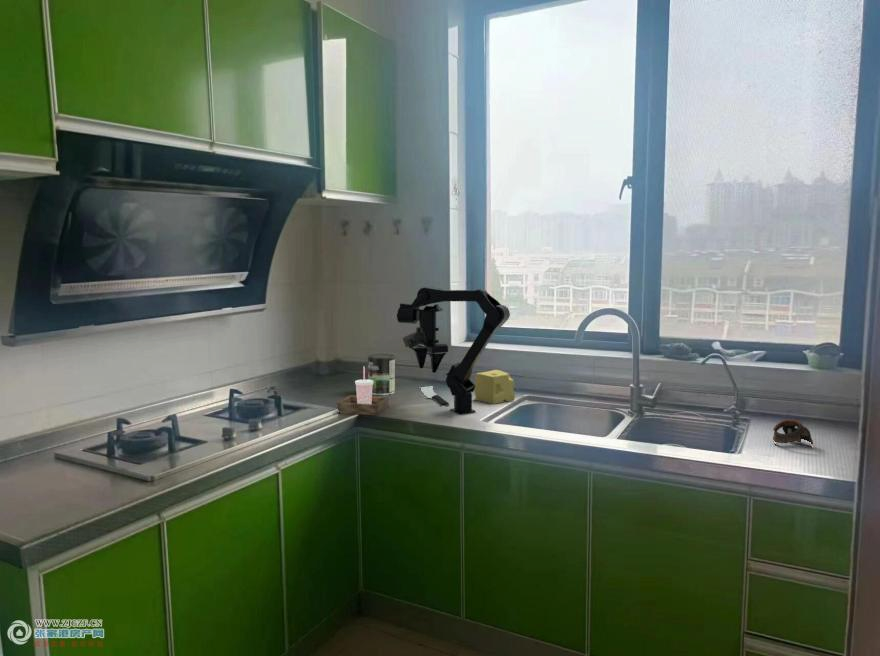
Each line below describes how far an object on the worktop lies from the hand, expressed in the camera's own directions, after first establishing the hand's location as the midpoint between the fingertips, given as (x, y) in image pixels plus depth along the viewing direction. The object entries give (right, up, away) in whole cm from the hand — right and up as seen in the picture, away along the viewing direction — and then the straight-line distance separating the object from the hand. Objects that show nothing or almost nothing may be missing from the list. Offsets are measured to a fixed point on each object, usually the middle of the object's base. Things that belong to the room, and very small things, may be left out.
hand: (427, 370), depth 216 cm
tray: (-21, -13, -1) cm, 25 cm away
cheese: (+24, -12, +14) cm, 30 cm away
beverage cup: (-21, -13, -2) cm, 25 cm away
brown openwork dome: (+102, -18, -39) cm, 110 cm away
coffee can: (-18, -10, +26) cm, 33 cm away
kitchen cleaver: (0, -12, +19) cm, 22 cm away
